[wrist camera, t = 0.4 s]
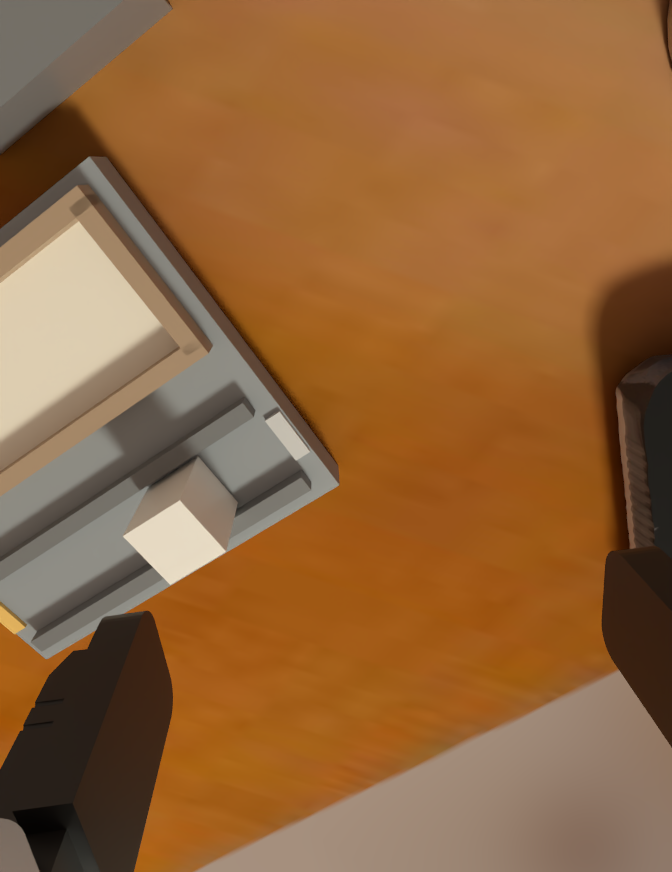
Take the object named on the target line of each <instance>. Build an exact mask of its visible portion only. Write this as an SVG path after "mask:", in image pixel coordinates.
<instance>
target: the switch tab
mask: <svg viewBox="0 0 672 872" xmlns="http://www.w3.org/2000/svg"><path fill="white" fill-rule="evenodd" d="M237 504H238V502H237V501H236V500H235V499H234V497H233V496H232V495H231V494H230V493H229V492H228V490H227V489H226V488H225V487H224V486H223V485H222V483H221V482H220V481H219V480H218V479H217V478H216V476H215V475H214V474H213V473H212V472H211V471H210V469H209V468H208V467H207V466H206V465H205V464H204V462H203V461H202V460H201V459H200V458H199V457H198V456H197V457H196V458H194V459H192V460H191V461H189V462H188V463H186V464H185V465H183V466H182V467H180V468H178V469H177V470H175V471H174V472H172V473H171V474H169V475H168V476H166V477H165V478H163V479H161V480H160V481H158V482H157V483H155V484H154V485H152V486H151V487H149V488H148V489H147V491H146V493H145V495H144V497H143V498H142V500H141V502H140V504H139V506H138V508H137V510H136V512H135V514H134V516H133V518H132V519H131V521H130V523H129V525H128V527H127V529H126V531H125V533H124V535H123V537H124V538H125V539H126V540H127V541H128V542H129V543H130V544H131V545H132V546H133V547H134V548H135V549H136V550H137V551H138V552H139V553H140V554H141V555H142V557H143V558H144V559H145V560H146V561H147V562H148V563H149V564H150V565H151V566H152V567H153V568H154V569H155V570H156V571H157V572H158V573H159V574H160V575H161V576H162V577H163V578H164V579H165V580H166V581H167V582H168V583H169V584H170V585H171V584H173V583H175V582H176V581H178V580H180V579H181V578H183V577H185V576H186V575H188V574H190V573H191V572H193V571H195V570H196V569H198V568H200V567H201V566H203V565H205V564H206V563H208V562H210V561H212V560H213V559H215V558H217V557H218V556H220V555H222V554H223V553H225V552H226V551H227V546H228V542H229V538H230V534H231V529H232V525H233V521H234V517H235V512H236V508H237Z"/></svg>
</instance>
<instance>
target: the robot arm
mask: <svg viewBox="0 0 672 872" xmlns="http://www.w3.org/2000/svg"><path fill="white" fill-rule="evenodd" d="M667 23H668V48H669V52H670V56H671V60H672V0H670V3H669V10H668V17H667ZM602 632H603V637H604V641H605V644H606V647H607V650H608V652H609V654H610V656H611V658H612V660H613V661H614V663H615V664H616V666H617V667H618V669H619V670H620V672H621V673H622V675H623V676H624V678H625V679H626V681H627V682H628V684H629V685H630V687H631V688H632V689H633V691H634V692H635V694H636V695H637V697H638V698H639V700H640V701H641V703H642V704H643V706H644V707H645V708H646V710H647V711H648V713H649V714H650V716H651V717H652V719H653V720H654V722H655V723H656V725H657V726H658V728H659V729H660V731H661V732H662V734H663V735H664V736H665V738H666V739H667V741H668V742H669V744H670V745H671V747H672V559H671V558H670V557H669V556H668V555H667V554H666V553H665V552H664V551H663V550H661V549H660V548H659V547H657V546H648V547H641V548H633V549H626V550H618V551H611V552H610V553H609V554H608V556H607V558H606V564H605V578H604V594H603V609H602ZM172 706H173V692H172V683H171V678H170V674H169V670H168V667H167V663H166V660H165V656H164V652H163V649H162V645H161V642H160V638H159V635H158V631H157V627H156V624H155V621H154V618H153V616H152V614H151V613H150V612H149V611H143V612H135V613H128V614H120V615H112V616H105V617H104V618H102V620H101V621H100V623H99V625H98V627H97V629H96V631H95V634H94V636H93V638H92V640H91V642H90V644H89V647H88V649H86V650H78V651H73V652H72V653H71V654H70V655H69V656H68V657H67V658H66V659H65V660H64V661H63V662H62V663H61V664H60V665H59V666H58V667H57V668H56V669H55V670H54V671H53V672H52V673H51V674H50V675H49V677H48V678H47V680H46V682H45V684H44V686H43V688H42V690H41V692H40V694H39V696H38V698H37V700H36V702H35V708H32V709H31V711H30V713H29V715H28V717H27V719H26V721H25V723H24V725H23V726H24V729H23V731H20V732H19V734H18V736H17V738H16V740H15V742H14V744H13V746H12V748H11V750H10V752H9V754H8V756H7V758H6V759H5V761H4V763H3V765H2V767H1V769H0V872H134V869H135V864H136V860H137V856H138V852H139V848H140V844H141V840H142V836H143V831H144V827H145V823H146V819H147V815H148V811H149V807H150V803H151V798H152V794H153V790H154V786H155V782H156V778H157V774H158V769H159V765H160V761H161V757H162V753H163V749H164V745H165V741H166V736H167V732H168V728H169V724H170V720H171V715H172Z"/></svg>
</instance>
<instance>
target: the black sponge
mask: <svg viewBox="0 0 672 872" xmlns="http://www.w3.org/2000/svg"><path fill="white" fill-rule="evenodd" d="M616 398H617V413H618V422H619V440H620V447H621V462H622V465H623V477H624V482H625V483H624V488H625V498H626V502H627V505H626V509H627V523H628V531H629V536H628V537H629V541H630V549H633V548H641V547H648V546H657V547H659V548H660V549H661V550H663V551H664V552H665V553H666V554H667V555H668V556H669V557H670V558H671V559H672V354H669V355H658V356H652V357H650V358H648V359H646V360H645V361H643V362H642V363H641V364H639V365H638V366H637V367H635V368H634V369H633V370H631V371H630V372H629V373H627V374H626V375H625V376H624V378H623V379H622V380H621V382H620V383H619V384H618V386H617V388H616Z"/></svg>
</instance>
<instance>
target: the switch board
mask: <svg viewBox="0 0 672 872" xmlns="http://www.w3.org/2000/svg"><path fill="white" fill-rule="evenodd" d="M197 456H198V457H199V458H200V459H201V460H202V461H203V462H204V464H205V465H206V466H207V467H208V468H209V469H210V471H211V472H212V473H213V474H214V475H215V476H216V478H217V479H218V480H219V481H220V482H221V483H222V485H223V486H224V487H225V488H226V489H227V490H228V492H229V493H230V494H231V495H232V496H233V497H234V499H235V500H236V501H237V502H238V504H237V508H236V512H235V517H234V521H233V525H232V529H231V534H230V538H229V542H228V546H227V551H226V552H228V551H229V550H231V549H233V548H235V547H236V546H238V545H240V544H241V543H243V542H245V541H246V540H248V539H250V538H251V537H253V536H255V535H256V534H258V533H260V532H261V531H263V530H265V529H266V528H268V527H270V526H271V525H273V524H275V523H277V522H278V521H280V520H282V519H283V518H285V517H287V516H288V515H290V514H292V513H293V512H295V511H297V510H298V509H300V508H302V507H303V506H305V505H307V504H308V503H310V502H312V501H313V500H315V499H317V498H318V497H320V496H322V495H324V494H325V493H327V492H329V491H330V490H332V489H334V488H335V487H337V486H339V470H338V465H337V464H336V462H335V461H334V460H333V458H332V457H331V456H330V454H329V453H328V452H327V450H326V449H325V448H324V446H323V445H322V444H321V442H320V441H319V440H318V438H317V437H316V436H315V434H314V433H313V432H312V430H311V429H310V428H309V426H308V425H307V424H306V422H305V421H304V420H303V418H302V417H301V416H300V414H299V413H298V412H297V410H296V409H295V408H294V406H293V405H292V404H291V402H290V401H289V400H288V398H287V397H286V396H285V394H284V393H283V392H282V390H281V389H280V388H279V386H278V385H277V384H276V382H275V381H274V380H273V378H272V377H271V376H270V374H269V373H268V372H267V370H266V369H265V368H264V366H263V365H262V364H261V362H260V361H259V360H258V358H257V357H256V356H255V354H254V353H253V352H252V350H251V349H250V348H249V346H248V345H247V344H246V342H245V341H244V340H243V338H242V337H241V336H240V334H239V333H238V332H237V330H236V329H235V328H234V326H233V325H232V324H231V322H230V321H229V320H228V318H227V317H226V316H225V314H224V313H223V312H222V310H221V309H220V308H219V306H218V305H217V304H216V302H215V301H214V300H213V298H212V297H211V296H210V294H209V293H208V292H207V290H206V289H205V288H204V286H203V285H202V284H201V282H200V281H199V280H198V278H197V277H196V276H195V274H194V273H193V272H192V270H191V269H190V268H189V266H188V265H187V264H186V262H185V261H184V260H183V258H182V257H181V256H180V254H179V253H178V252H177V250H176V249H175V248H174V246H173V245H172V244H171V242H170V241H169V240H168V238H167V237H166V236H165V234H164V233H163V232H162V230H161V229H160V228H159V226H158V225H157V224H156V222H155V221H154V220H153V218H152V217H151V216H150V214H149V213H148V212H147V210H146V209H145V208H144V206H143V205H142V204H141V202H140V201H139V200H138V198H137V197H136V196H135V194H134V193H133V192H132V190H131V189H130V188H129V186H128V185H127V184H126V182H125V181H124V180H123V178H122V177H121V176H120V174H119V173H118V172H117V170H116V169H115V168H114V166H113V165H112V164H111V162H110V161H109V160H108V158H107V157H94V156H89V157H88V158H87V159H85V160H84V161H83V162H82V163H81V164H79V165H78V166H77V167H76V168H74V169H73V170H72V171H71V172H69V173H68V174H67V175H66V176H65V177H63V178H62V179H61V180H60V181H58V182H57V183H56V184H55V185H54V186H52V187H51V188H50V189H49V190H47V191H46V192H45V193H44V194H42V195H41V196H40V197H39V198H38V199H36V200H35V201H34V202H33V203H31V204H30V205H29V206H28V207H27V208H25V209H24V210H23V211H22V212H20V213H19V214H18V215H17V216H15V217H14V218H13V219H12V220H11V221H9V222H8V223H7V224H6V225H4V226H3V227H2V228H1V229H0V623H2V624H3V625H4V626H5V627H6V628H8V629H9V630H10V631H11V632H12V633H13V634H17V635H18V636H19V637H21V638H22V639H23V640H24V641H25V642H26V643H28V644H29V645H30V646H31V647H32V648H33V649H35V650H36V651H37V652H38V653H39V654H40V655H42V656H43V657H44V658H45V659H48V658H50V657H51V656H53V655H55V654H57V653H58V652H60V651H62V650H63V649H65V648H67V647H68V646H70V645H72V644H73V643H75V642H77V641H78V640H80V639H82V638H83V637H85V636H87V635H88V634H90V633H92V632H93V631H95V630H96V629H97V627H98V625H99V623H100V621H101V620H102V618H104V617H105V616H112V615H120V614H124V613H125V612H127V611H129V610H130V609H132V608H134V607H135V606H137V605H139V604H140V603H142V602H144V601H146V600H147V599H149V598H151V597H152V596H154V595H156V594H157V593H159V592H161V591H162V590H164V589H166V588H167V587H169V586H171V585H172V584H171V585H170V584H169V583H168V582H167V581H166V580H165V579H164V578H163V577H162V576H161V575H160V574H159V573H158V572H157V571H156V570H155V569H154V568H153V567H152V566H151V565H150V564H149V563H148V562H147V561H146V560H145V559H144V558H143V557H142V555H141V554H140V553H139V552H138V551H137V550H136V549H135V548H134V547H133V546H132V545H131V544H130V543H129V542H128V541H127V540H126V539H125V538H124V537H123V535H124V533H125V531H126V529H127V527H128V525H129V523H130V521H131V519H132V518H133V516H134V514H135V512H136V510H137V508H138V506H139V504H140V502H141V500H142V498H143V497H144V495H145V493H146V491H147V489H148V488H149V487H151V486H152V485H154V484H155V483H157V482H158V481H160V480H161V479H163V478H165V477H166V476H168V475H169V474H171V473H172V472H174V471H175V470H177V469H178V468H180V467H182V466H183V465H185V464H186V463H188V462H189V461H191V460H192V459H194V458H196V457H197ZM226 552H225V553H226ZM223 554H224V553H223ZM223 554H222V555H223ZM220 556H221V555H220ZM218 557H219V556H218ZM218 557H217V558H218ZM215 559H216V558H215ZM213 560H214V559H213ZM213 560H212V561H213ZM210 562H211V561H210ZM208 563H209V562H208ZM208 563H206V564H208ZM206 564H205V565H206ZM203 566H204V565H203ZM203 566H201V567H203ZM201 567H200V568H201ZM198 569H199V568H198ZM198 569H196V570H198ZM196 570H195V571H196ZM193 572H194V571H193ZM193 572H191V573H193ZM191 573H190V574H191ZM188 575H189V574H188ZM188 575H186V576H188ZM186 576H185V577H186ZM183 578H184V577H183ZM181 579H182V578H181ZM181 579H180V580H181ZM178 581H179V580H178ZM176 582H177V581H176ZM176 582H175V583H176ZM173 584H174V583H173Z"/></svg>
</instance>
